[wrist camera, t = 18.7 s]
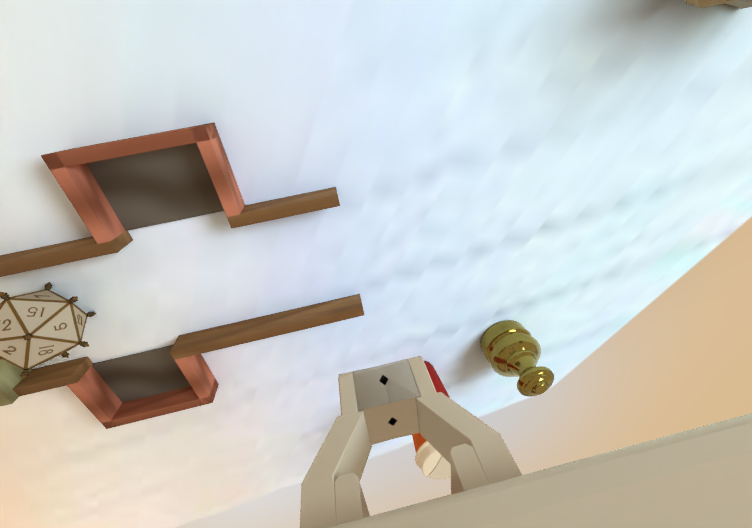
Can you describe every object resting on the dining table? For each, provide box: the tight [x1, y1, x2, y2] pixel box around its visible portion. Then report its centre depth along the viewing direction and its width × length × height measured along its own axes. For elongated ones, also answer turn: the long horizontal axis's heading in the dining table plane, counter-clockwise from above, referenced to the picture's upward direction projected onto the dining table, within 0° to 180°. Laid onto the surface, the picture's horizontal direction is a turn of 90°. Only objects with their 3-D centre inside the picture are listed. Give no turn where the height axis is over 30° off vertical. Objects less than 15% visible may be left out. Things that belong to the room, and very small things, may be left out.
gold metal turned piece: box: [481, 320, 554, 396], centre depth 46 cm, size 7×8×10 cm
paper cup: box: [412, 361, 451, 479], centre depth 44 cm, size 8×8×14 cm
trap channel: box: [0, 123, 364, 429], centre depth 35 cm, size 32×42×4 cm
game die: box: [0, 282, 96, 379], centre depth 32 cm, size 9×8×10 cm
